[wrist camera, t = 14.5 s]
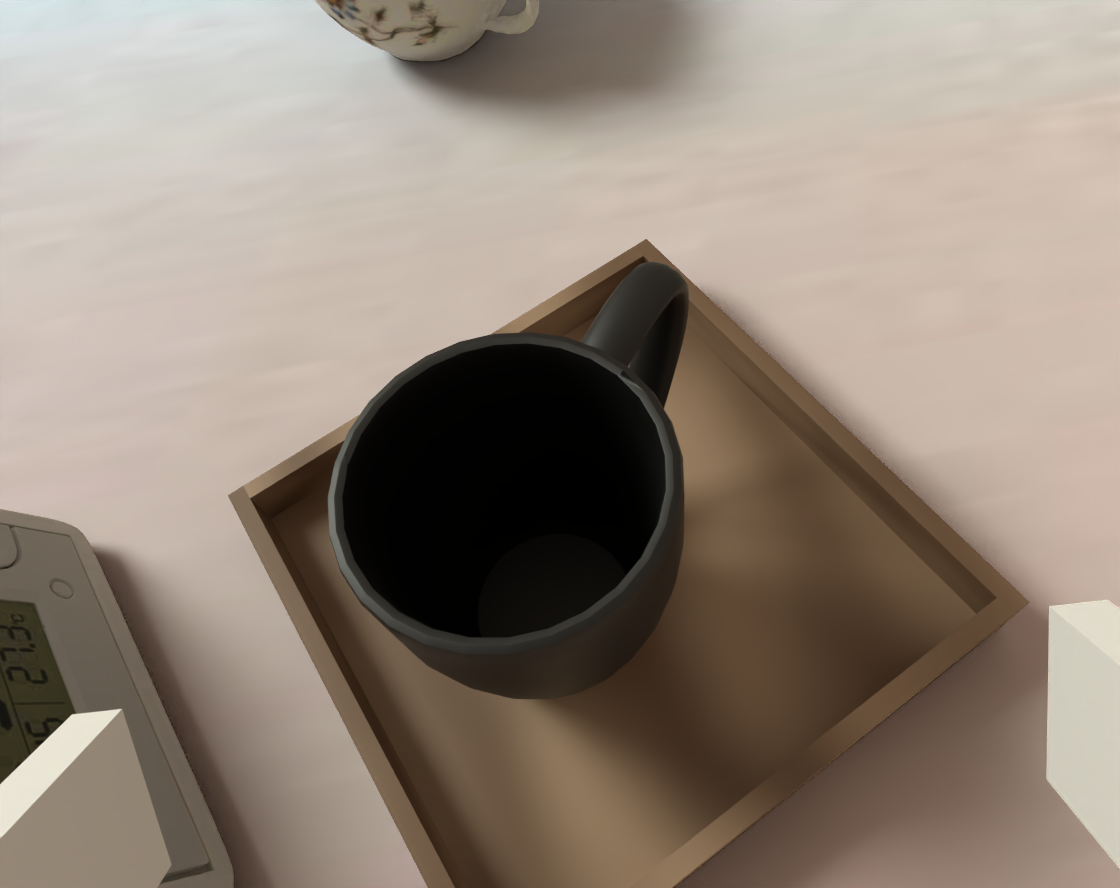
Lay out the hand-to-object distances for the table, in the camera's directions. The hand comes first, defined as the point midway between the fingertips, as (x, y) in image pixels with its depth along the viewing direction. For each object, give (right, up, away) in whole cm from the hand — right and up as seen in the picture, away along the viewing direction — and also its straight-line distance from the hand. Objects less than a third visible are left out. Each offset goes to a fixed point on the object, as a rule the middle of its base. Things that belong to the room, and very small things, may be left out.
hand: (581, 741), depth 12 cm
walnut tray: (+1, 0, +16) cm, 16 cm away
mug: (+1, 0, +16) cm, 16 cm away
